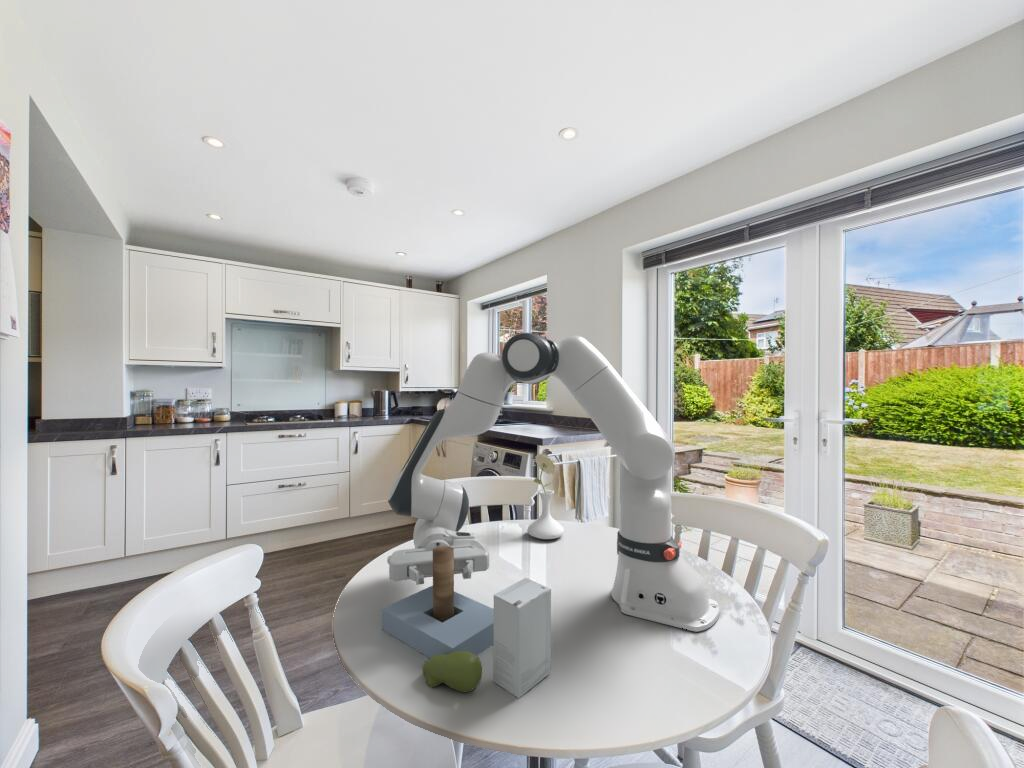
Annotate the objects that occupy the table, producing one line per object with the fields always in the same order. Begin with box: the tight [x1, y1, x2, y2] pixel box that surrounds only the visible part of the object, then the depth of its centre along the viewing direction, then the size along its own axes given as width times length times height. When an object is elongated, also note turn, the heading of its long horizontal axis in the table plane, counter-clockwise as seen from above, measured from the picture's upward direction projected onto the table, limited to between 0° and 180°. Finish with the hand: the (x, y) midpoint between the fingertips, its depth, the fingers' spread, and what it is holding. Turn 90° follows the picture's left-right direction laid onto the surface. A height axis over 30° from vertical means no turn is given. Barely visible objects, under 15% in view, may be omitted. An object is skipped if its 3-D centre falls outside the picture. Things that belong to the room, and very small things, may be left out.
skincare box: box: [492, 577, 552, 699], centre depth 75 cm, size 8×6×15 cm
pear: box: [422, 651, 483, 693], centre depth 74 cm, size 6×5×10 cm
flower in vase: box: [526, 453, 565, 540], centre depth 142 cm, size 13×11×25 cm
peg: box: [432, 546, 455, 623], centre depth 88 cm, size 4×4×16 cm
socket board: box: [381, 585, 494, 659], centre depth 89 cm, size 20×14×4 cm
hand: (444, 577), depth 87 cm, fingers open, 8 cm apart
